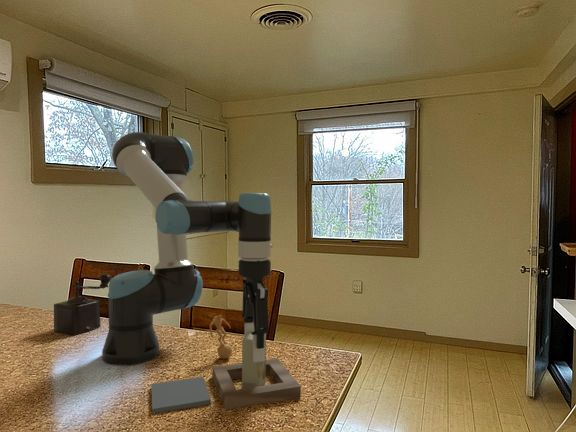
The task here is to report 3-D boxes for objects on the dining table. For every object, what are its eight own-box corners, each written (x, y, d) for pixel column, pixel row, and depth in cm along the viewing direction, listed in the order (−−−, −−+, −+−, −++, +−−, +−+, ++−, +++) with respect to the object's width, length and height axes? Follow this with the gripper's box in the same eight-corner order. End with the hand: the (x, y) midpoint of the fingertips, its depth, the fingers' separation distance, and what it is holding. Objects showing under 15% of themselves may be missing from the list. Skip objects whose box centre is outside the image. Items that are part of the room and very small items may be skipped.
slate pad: (151, 388, 93) (151, 383, 93) (203, 380, 97) (203, 376, 97) (152, 413, 82) (152, 409, 82) (210, 404, 86) (210, 399, 86)
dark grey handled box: (75, 336, 128) (74, 281, 128) (52, 331, 133) (52, 278, 133) (114, 323, 142) (114, 273, 142) (93, 319, 147) (92, 271, 147)
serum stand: (212, 376, 100) (212, 366, 99) (276, 367, 105) (277, 358, 105) (225, 410, 84) (225, 398, 83) (300, 397, 89) (300, 386, 89)
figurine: (220, 364, 107) (220, 320, 106) (203, 360, 110) (203, 317, 109) (239, 354, 114) (239, 313, 113) (223, 350, 117) (223, 310, 117)
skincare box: (259, 393, 91) (259, 341, 90) (241, 391, 92) (241, 339, 91) (266, 381, 97) (266, 331, 97) (249, 379, 98) (249, 330, 97)
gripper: (283, 264, 85) (283, 369, 86) (258, 252, 104) (258, 339, 105) (249, 265, 83) (249, 374, 83) (230, 253, 102) (230, 342, 102)
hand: (254, 354), depth 94 cm, fingers closed on skincare box, 7 cm apart
